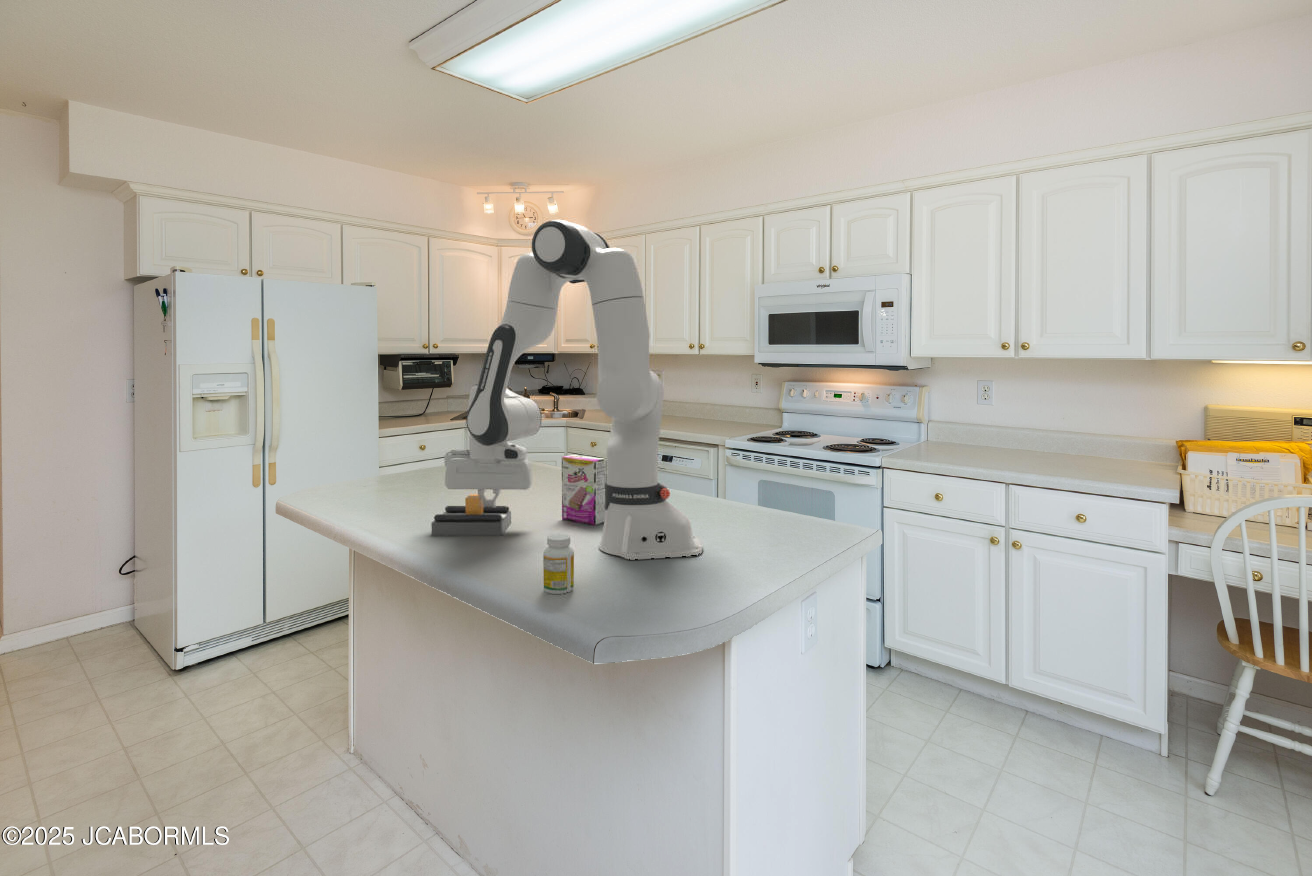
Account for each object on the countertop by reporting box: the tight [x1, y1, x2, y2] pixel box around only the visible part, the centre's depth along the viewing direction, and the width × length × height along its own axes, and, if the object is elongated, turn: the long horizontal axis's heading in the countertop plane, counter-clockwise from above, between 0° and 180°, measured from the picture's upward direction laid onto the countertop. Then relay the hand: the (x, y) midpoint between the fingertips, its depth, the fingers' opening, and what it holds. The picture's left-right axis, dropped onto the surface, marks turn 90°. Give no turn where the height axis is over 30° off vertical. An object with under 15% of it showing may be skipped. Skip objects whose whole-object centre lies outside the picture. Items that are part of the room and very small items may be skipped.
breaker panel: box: [430, 505, 512, 537], centre depth 154 cm, size 16×12×5 cm
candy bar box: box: [561, 454, 607, 526], centre depth 162 cm, size 11×5×16 cm, turn 58°
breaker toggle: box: [464, 493, 483, 514], centre depth 153 cm, size 3×5×4 cm, turn 2°
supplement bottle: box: [542, 533, 575, 595], centre depth 113 cm, size 5×5×10 cm
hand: (489, 507), depth 153 cm, fingers closed
